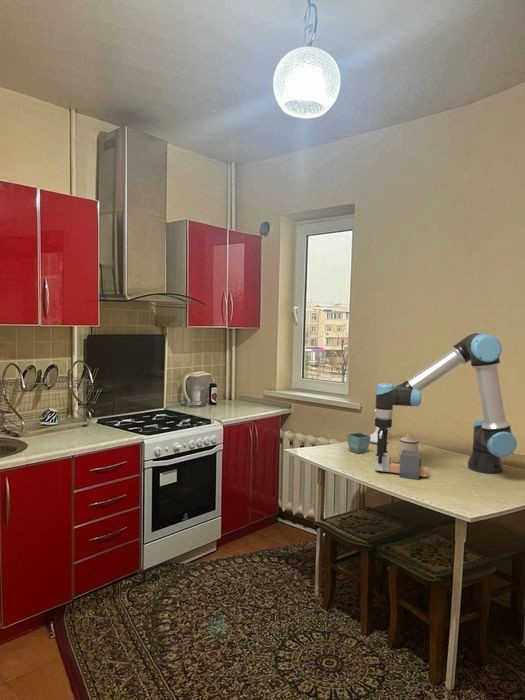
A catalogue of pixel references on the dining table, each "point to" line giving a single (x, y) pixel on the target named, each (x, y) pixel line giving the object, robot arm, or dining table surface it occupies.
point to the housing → (410, 464)
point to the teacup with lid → (408, 444)
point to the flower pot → (358, 442)
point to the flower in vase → (375, 435)
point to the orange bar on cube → (397, 466)
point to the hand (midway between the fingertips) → (381, 468)
